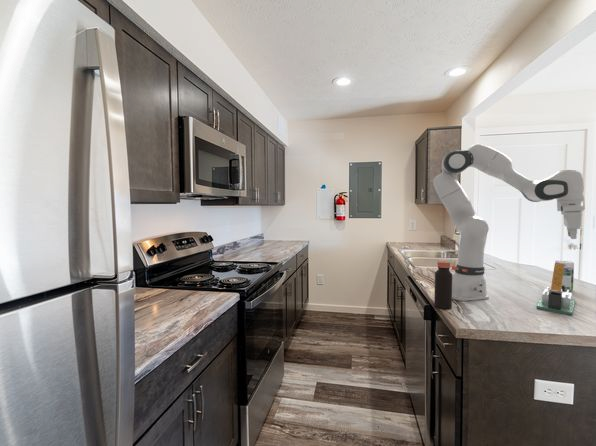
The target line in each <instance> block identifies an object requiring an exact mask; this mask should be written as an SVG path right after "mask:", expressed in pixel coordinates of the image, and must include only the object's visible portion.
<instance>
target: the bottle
mask: <svg viewBox="0 0 596 446" xmlns="http://www.w3.org/2000/svg"><path fill="white" fill-rule="evenodd" d="M450 269H451V261H446V260H437V270H436V271H435V273H434V300H433V301H434V307H435V308H437V309H440V310H452V306H453V305H452V304H453V299H452V275H453V273H452V271H450Z"/></svg>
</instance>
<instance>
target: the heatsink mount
mask: <svg viewBox="0 0 596 446" xmlns="http://www.w3.org/2000/svg"><path fill="white" fill-rule="evenodd" d="M549 290H550V287H549V286H547V287H546V288H544V289H543V291H542V293H541V298H540V299H539V301H538V303H537V305H536V309H537V310H542V311H547V312H553V313H558V314H563V315H567V316H573V312H574V308H575V303H576V299H575V298H572V295H573V293H572V292H570V290H565V285H562V288H561V292H562V294H555V293H549Z"/></svg>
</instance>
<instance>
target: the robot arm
mask: <svg viewBox="0 0 596 446" xmlns="http://www.w3.org/2000/svg"><path fill="white" fill-rule="evenodd" d="M440 163H441V164H440V173H439V174H437V175H435V177H434V178H433V179H432V180H433V181H432V184H433V187H434V189H435V192H436V194H437V196H438V198H439V199H440V201H441V203H442V204H443V206H444V208H445V209H446V212H447V213H448V215H449V218H450V219H451V220H452V223H453V225H454V226H455V228H456V230H457V231H458V233H459V234H460V236H459V244H458V249H457V264H456V266H454V265H452V266H450V269H451V271H454V273H452V300H456V301H461V302H467V301H479V300H489V298H490V297H489V295H488V293H487V292H488V291H487V280H486V278H485V276H484V274H485V271H486V270H485V266H484V264H485V263H484V262H485V261H484V259H485V258H484V257H485V248H486V243H487V238H488V233H489V225H488V223H487V221H486V220H485V219H484V218H482V217H480V216H478V215H477V214H476V211H475V209H474V207H473V205H472V203H471V202H472V201H471V200H470V198H469V196H468V195H467V193H466V191H465V190H464V189H463V187H462V184H461V183H459V181H458V175H459V174H461V173H462V172H464V171H466V169H467V168H469V167H470V168H471V167H472V168H475V169H477V170H478V171H480V172H482V173H484V174H485V175H488V176H491V177H493V178H496V179H499V180H500V181H503V182H505V183H506V184H508V185H510V186H511V187H513V188H515V189H516V190H518V191H519V192H521V194H522V196H523V197H524V198H525V199H526V201H527V200H528V201H529V202H531V203H539V202H549V201H553V200H555V199H556V208H557V209H556V210H557V212H560V213H561V216H562V215H563V226H565V227H566V231H567V236H568V237H570V239H571V240H576V239H577V237H578V236H577V234H578V230H580V229H581V226H582V214H583V213H582V212H583V211H585V210H586V206H585V204H586V203H585V196H584V194H583V193H584V190H585V186H584V179H583V174H582V173H581V171H579V170H575V169H563V170H562V169H561V170H558V171H556V172H555V173H554V174H553V175H551V176H548V177H546V178H544V179H541V180H535V179H534V180H532V179H529V178H528V177H526V176H525V175H523V174H521V173H519V172H517V171H516V170H515V169H514V168H513V165H512V163H513V161H512V159H511V158H510V157H508V156H507V155H506V154H504V153H503V152H501V151H499V150H497V149H495V148H493V147H491V146H488V145H485V144H481V143H476V144H472V145H471V146H469V148H468V149H466V150H453V151H450V152H448V153H447V154H446V155H444V157H443V158H442V160H441V161H440Z"/></svg>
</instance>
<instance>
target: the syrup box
mask: <svg viewBox="0 0 596 446" xmlns="http://www.w3.org/2000/svg"><path fill="white" fill-rule="evenodd" d="M555 263H560V264H564V273H563V280H562V285H565V291H567V290H569V291H574V279H575V278H574V276H575V275H574V273H575V272H574V270H575V262H573V261H571V260H554V264H555Z"/></svg>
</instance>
